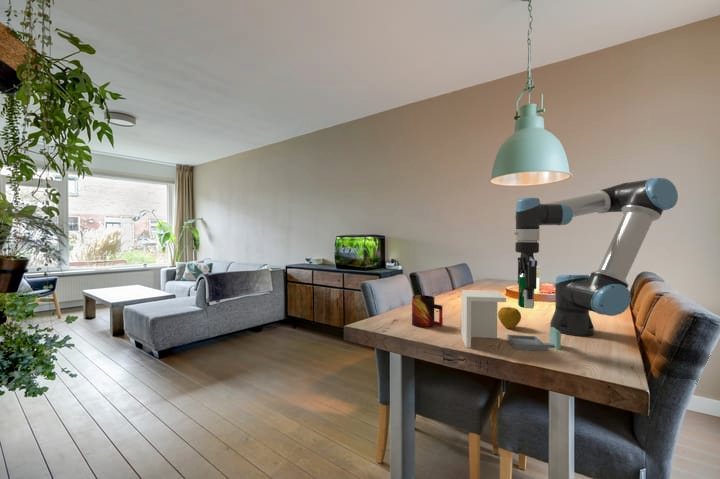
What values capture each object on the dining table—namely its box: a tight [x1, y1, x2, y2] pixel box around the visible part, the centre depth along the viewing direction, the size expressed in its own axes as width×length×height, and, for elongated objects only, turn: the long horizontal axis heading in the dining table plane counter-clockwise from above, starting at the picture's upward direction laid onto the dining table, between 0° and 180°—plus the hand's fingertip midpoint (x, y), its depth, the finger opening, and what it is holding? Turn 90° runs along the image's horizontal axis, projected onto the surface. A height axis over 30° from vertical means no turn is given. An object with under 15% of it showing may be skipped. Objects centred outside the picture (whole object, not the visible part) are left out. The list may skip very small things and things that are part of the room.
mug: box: [411, 294, 444, 329], centre depth 143 cm, size 10×14×12 cm
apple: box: [497, 306, 522, 330], centre depth 139 cm, size 9×9×9 cm
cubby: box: [461, 289, 507, 349], centre depth 120 cm, size 13×13×18 cm
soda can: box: [517, 273, 535, 309], centre depth 117 cm, size 5×5×12 cm
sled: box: [507, 326, 562, 352], centre depth 117 cm, size 15×10×6 cm
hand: (526, 306), depth 117 cm, fingers closed on soda can, 5 cm apart
